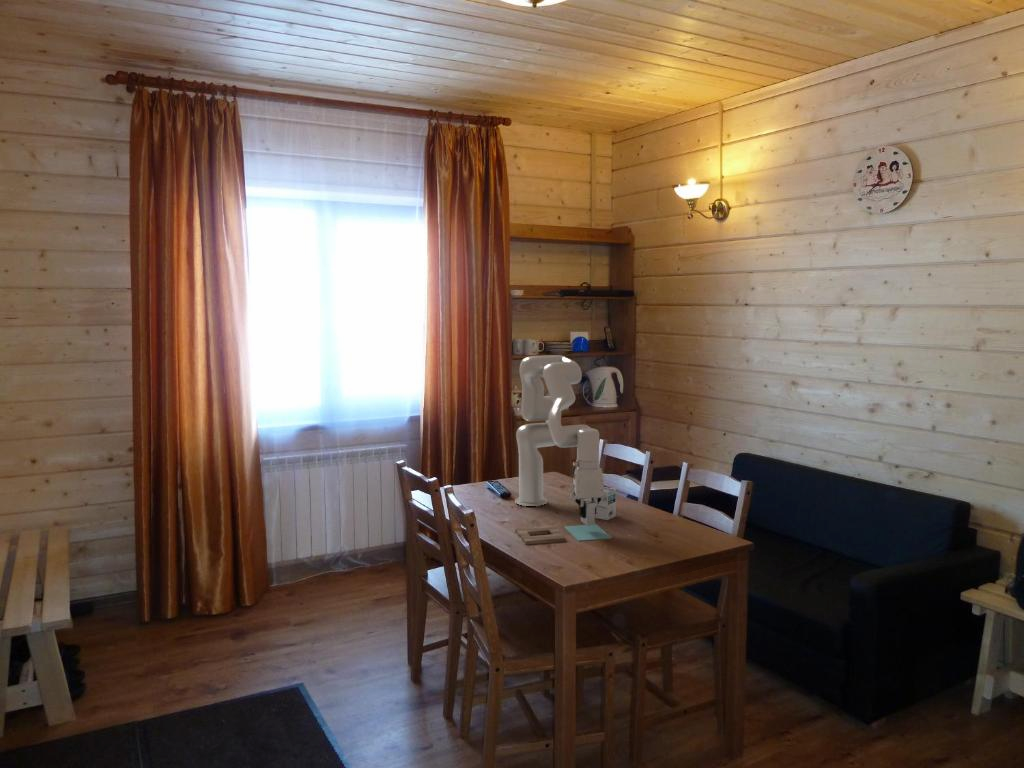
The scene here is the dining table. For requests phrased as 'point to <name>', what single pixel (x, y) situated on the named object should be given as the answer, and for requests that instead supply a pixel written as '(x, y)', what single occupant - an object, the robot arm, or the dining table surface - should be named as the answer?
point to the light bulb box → (607, 505)
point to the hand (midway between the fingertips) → (587, 516)
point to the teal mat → (587, 532)
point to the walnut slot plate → (553, 537)
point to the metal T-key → (589, 512)
